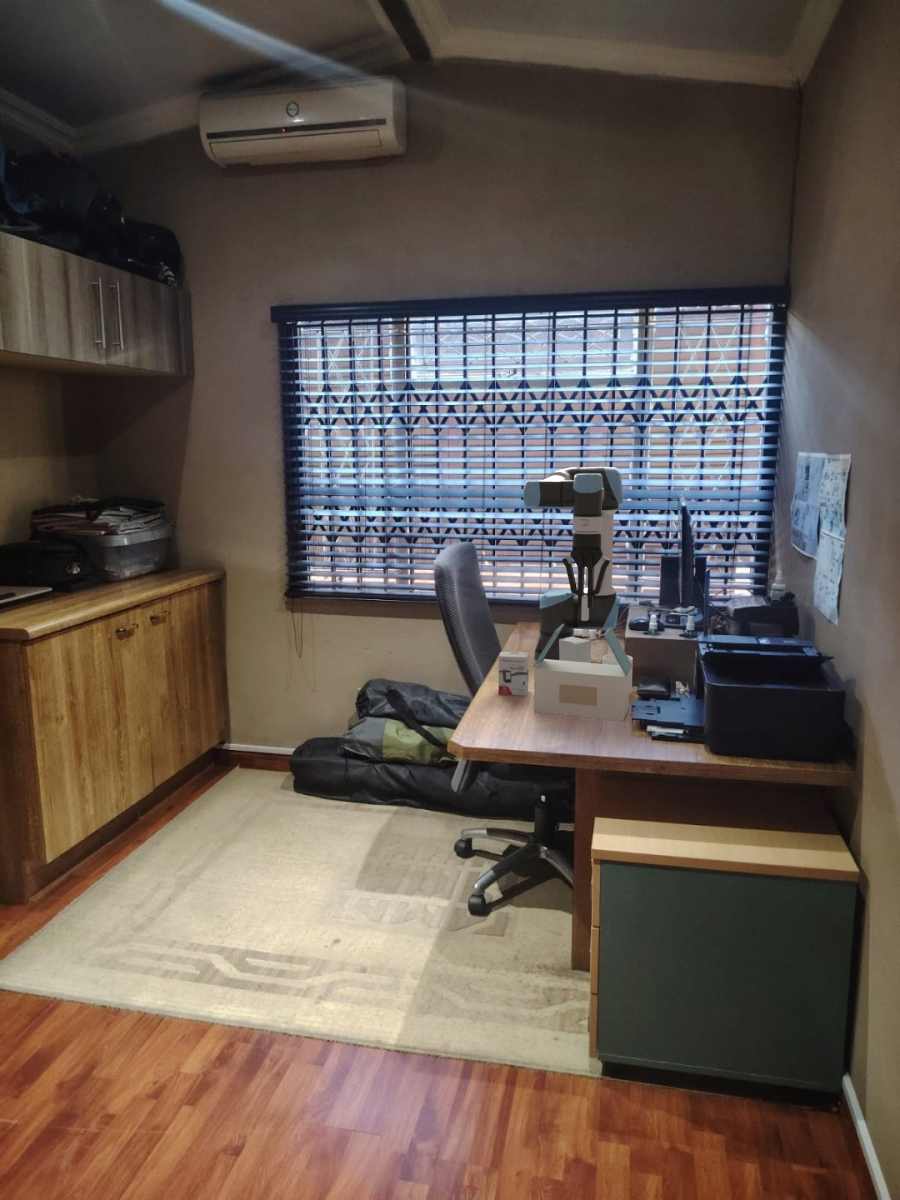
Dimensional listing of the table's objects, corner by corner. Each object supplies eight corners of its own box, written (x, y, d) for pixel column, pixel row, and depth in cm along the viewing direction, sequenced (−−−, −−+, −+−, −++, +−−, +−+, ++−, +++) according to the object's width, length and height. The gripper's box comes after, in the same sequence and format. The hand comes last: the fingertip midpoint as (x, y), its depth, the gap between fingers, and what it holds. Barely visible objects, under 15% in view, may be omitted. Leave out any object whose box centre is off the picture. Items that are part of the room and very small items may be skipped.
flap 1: (534, 667, 210) (532, 666, 210) (542, 659, 218) (541, 658, 218) (556, 632, 205) (554, 631, 206) (564, 624, 214) (562, 623, 214)
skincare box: (591, 689, 231) (592, 640, 228) (576, 692, 227) (577, 643, 225) (572, 682, 237) (573, 635, 235) (557, 685, 234) (558, 638, 231)
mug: (603, 700, 220) (603, 664, 218) (600, 688, 232) (601, 653, 230) (633, 701, 219) (635, 664, 217) (630, 688, 230) (631, 654, 228)
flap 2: (630, 666, 210) (632, 665, 210) (625, 676, 201) (627, 675, 201) (609, 627, 210) (611, 626, 210) (603, 635, 201) (605, 634, 201)
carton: (543, 699, 221) (544, 659, 219) (628, 708, 213) (630, 666, 211) (533, 711, 211) (534, 669, 209) (622, 721, 203) (624, 677, 200)
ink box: (497, 694, 226) (497, 655, 224) (499, 689, 231) (499, 651, 229) (527, 696, 225) (527, 656, 222) (528, 691, 229) (529, 652, 227)
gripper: (559, 533, 204) (558, 620, 208) (609, 534, 199) (607, 623, 203) (565, 530, 211) (564, 615, 215) (614, 531, 206) (611, 618, 210)
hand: (585, 619), depth 209 cm, fingers closed
